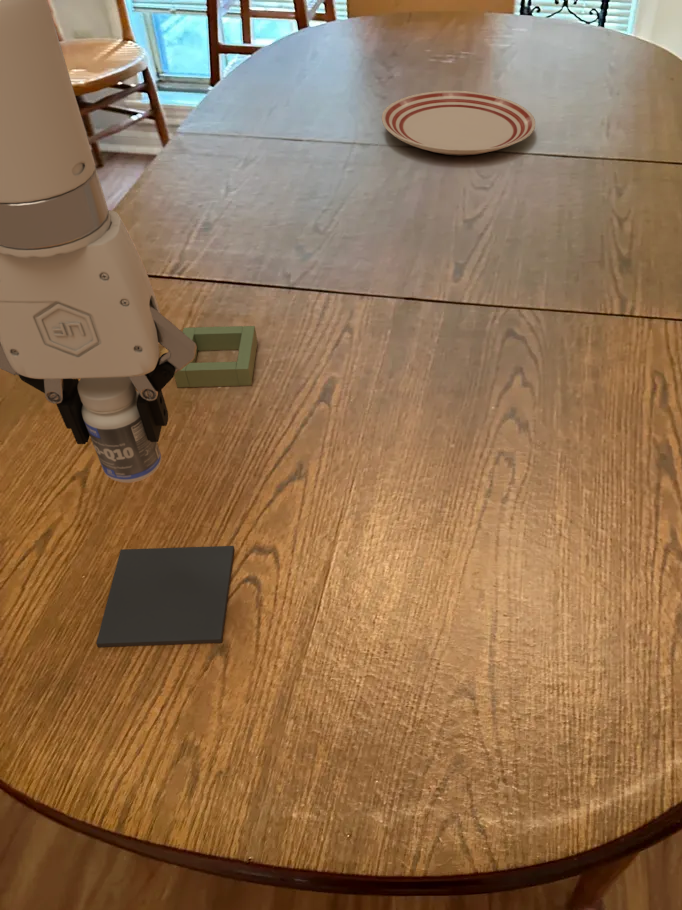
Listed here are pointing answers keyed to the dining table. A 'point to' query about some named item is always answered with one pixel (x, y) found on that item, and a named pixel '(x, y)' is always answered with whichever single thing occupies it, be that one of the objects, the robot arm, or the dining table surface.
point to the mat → (167, 597)
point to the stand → (220, 371)
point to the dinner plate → (458, 122)
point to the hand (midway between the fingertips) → (121, 429)
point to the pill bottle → (117, 429)
